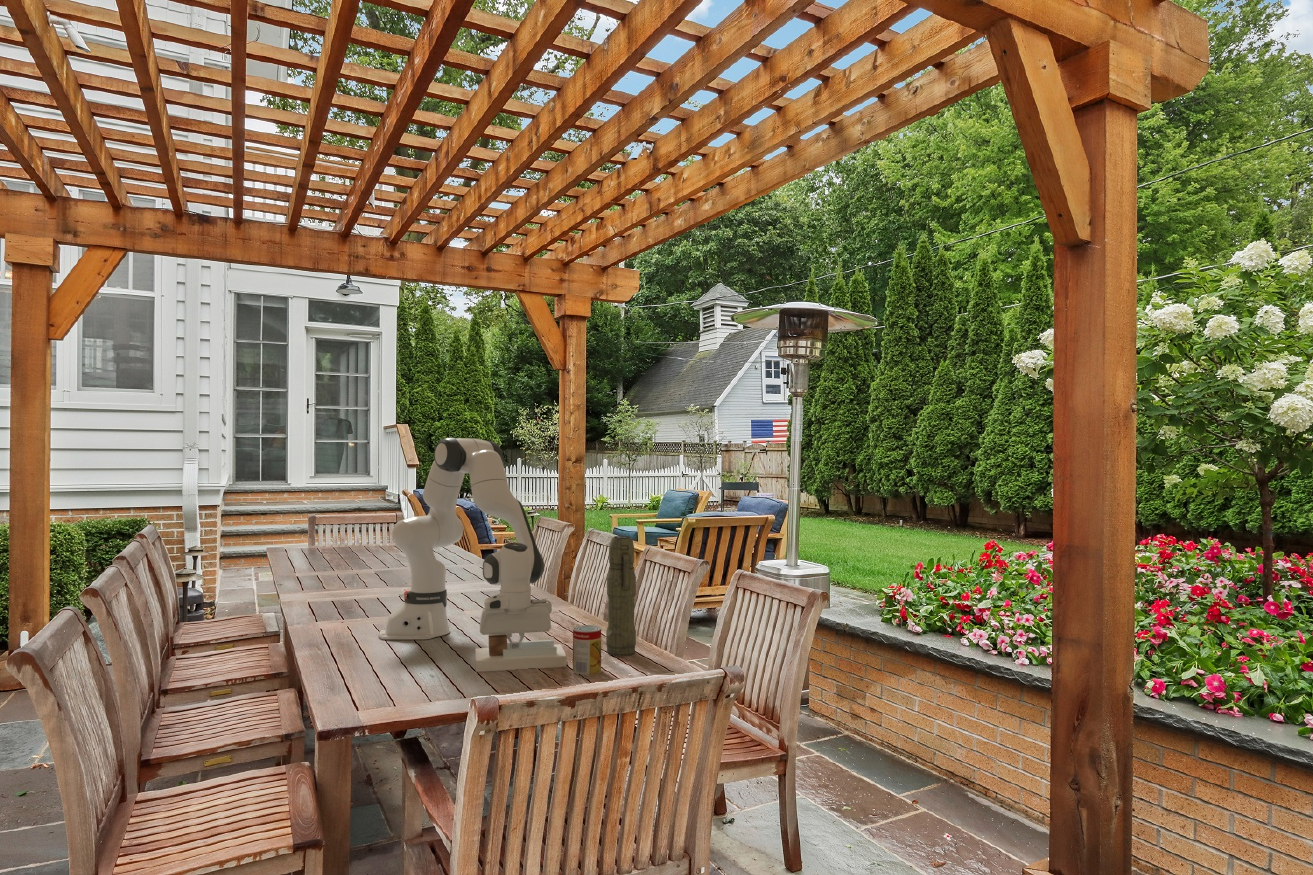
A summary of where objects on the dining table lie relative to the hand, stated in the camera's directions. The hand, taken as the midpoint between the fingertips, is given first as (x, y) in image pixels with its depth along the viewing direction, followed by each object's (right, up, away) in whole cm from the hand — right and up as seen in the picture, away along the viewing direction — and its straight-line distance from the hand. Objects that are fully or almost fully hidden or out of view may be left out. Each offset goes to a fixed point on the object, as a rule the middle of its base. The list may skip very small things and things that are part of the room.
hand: (515, 648), depth 234 cm
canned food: (+21, -4, -8) cm, 23 cm away
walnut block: (-5, -1, -1) cm, 5 cm away
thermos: (+30, -5, +12) cm, 33 cm away
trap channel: (+1, -4, 0) cm, 4 cm away
